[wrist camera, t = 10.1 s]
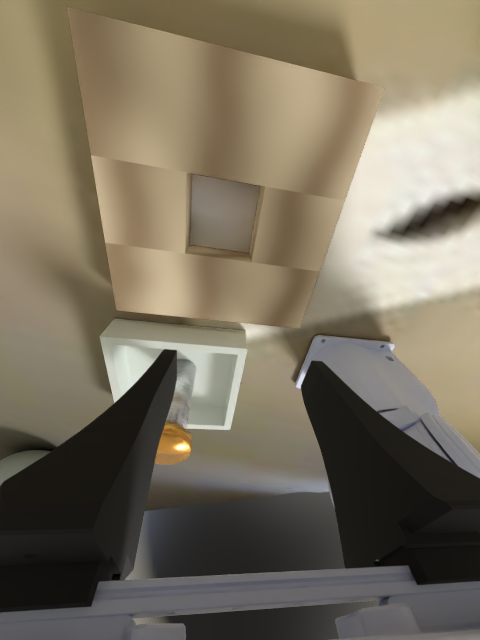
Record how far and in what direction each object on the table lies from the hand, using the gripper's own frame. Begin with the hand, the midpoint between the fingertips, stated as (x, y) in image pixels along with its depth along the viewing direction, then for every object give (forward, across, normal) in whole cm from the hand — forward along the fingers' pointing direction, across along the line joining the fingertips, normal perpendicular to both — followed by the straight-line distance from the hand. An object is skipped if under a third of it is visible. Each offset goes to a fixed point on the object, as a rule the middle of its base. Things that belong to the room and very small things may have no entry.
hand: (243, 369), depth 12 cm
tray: (+10, +5, +11) cm, 16 cm away
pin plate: (+10, +2, -6) cm, 12 cm away
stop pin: (+10, +5, +10) cm, 15 cm away
